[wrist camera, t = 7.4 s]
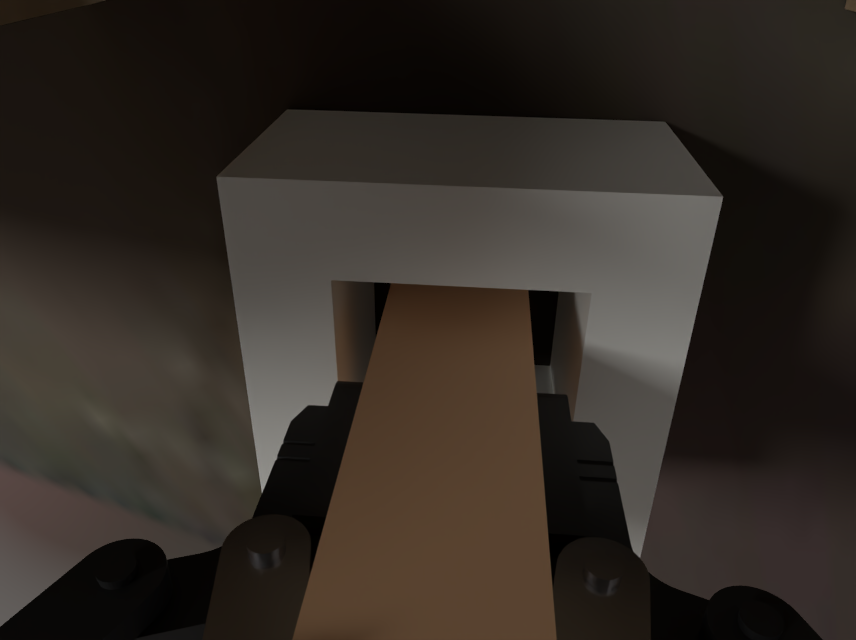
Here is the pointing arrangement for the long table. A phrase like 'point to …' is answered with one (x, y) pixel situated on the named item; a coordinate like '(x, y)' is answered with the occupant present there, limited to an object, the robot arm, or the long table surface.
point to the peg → (439, 481)
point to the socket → (473, 257)
